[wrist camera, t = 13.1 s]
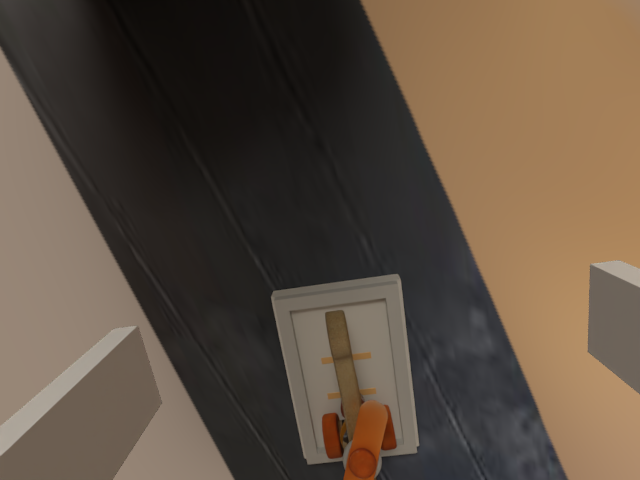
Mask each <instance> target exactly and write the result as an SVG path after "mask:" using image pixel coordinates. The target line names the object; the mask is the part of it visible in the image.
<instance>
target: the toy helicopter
mask: <svg viewBox="0 0 640 480" xmlns="http://www.w3.org/2000/svg"><path fill="white" fill-rule="evenodd" d="M325 321H326V328H327V334H328V340H329V345H330V350H331V355H332V358H333V362H334V367H335V372H336V377H337V382H338V386H339V391H340V396H341V406H340V409H341V414H342V416H343V417H344V418H345V419H344V420H339V416H338V414H337V413H328V414H324V415H323V417H322V432H323V440H324V446H325V450H326V454H327V456H328V458H329V459H334V458H341V457H343V465H344V468H345V470H346V471H345V475H344V479H343V480H376V476H377V475H378V473H379V472H380V469H381V465H382V458H381V454H380V449H382V450H384V451H386V450H392V449H395V448H396V447H397V443H396V437H395V432H394V427H393V422H392V417H391V412H390V408H389V406H388V405H385V404H384V405H383V404H382V403H380V402H379V401H376V400H368V401H366V402H365V400H364V397H363V395H362V394H361V393H360V391H359V386H358V380H357V376H356V372H355V367H354V361H353V356H352V350H351V345H350V339H349V334H348V328H347V323H346V318H345V313H344V311H343V310H336V311H329V312H326V313H325Z"/></svg>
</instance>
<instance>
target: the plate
mask: <svg viewBox="0 0 640 480" xmlns="http://www.w3.org/2000/svg"><path fill="white" fill-rule="evenodd" d="M271 300H272V305H273V310H274V315H275V320H276V324H277V329H278V334H279V339H280V344H281V348H282V353H283V358H284V363H285V368H286V373H287V377H288V382H289V387H290V392H291V397H292V401H293V406H294V411H295V416H296V421H297V425H298V430H299V435H300V440H301V445H302V450H303V454H304V458H306V459H307V464H317V463H327V462H336V461H343V457H341V458H334V459H329V458H328V456H327V454H326V450H325V446H324V440H323V432H322V417H323V415H324V414H328V413H337V414H338V416H339V420H344V419H345V418H344V417H343V416H342V414H341V409H340V406H341V396H340V391H339V386H338V382H337V377H336V372H335V367H334V362H333V358H332V355H331V350H330V345H329V340H328V334H327V328H326V321H325V313H326V312H329V311H336V310H343V311H344V313H345V318H346V323H347V328H348V334H349V339H350V345H351V350H352V356H353V361H354V367H355V372H356V376H357V380H358V386H359V391H360V393H361V394H362V395H363V397H364V400H365V402H366V401H368V400H376V401H379V402H380V403H382V404H383V405H384V404H385V405H388V406H389V408H390V412H391V417H392V422H393V427H394V432H395V437H396V443H397V447H396V448H395V449H392V450H386V451H384V450H382V449H380V454H381V457H383V456H393V455H402V454H412V453H417V447H416V446H419V439H418V430H417V421H416V412H415V403H414V394H413V385H412V376H411V367H410V358H409V349H408V340H407V331H406V322H405V313H404V304H403V295H402V286H401V279H400V277H399V275H398V274H392V275H385V276H378V277H370V278H363V279H356V280H349V281H342V282H335V283H327V284H320V285H313V286H306V287H299V288H291V289H284V290H277V291H273V294H272V296H271Z"/></svg>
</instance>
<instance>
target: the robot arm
mask: <svg viewBox="0 0 640 480" xmlns="http://www.w3.org/2000/svg"><path fill="white" fill-rule="evenodd" d="M588 328H589V329H588V352H589V353H590V354H591V355H592V356H594V357H595V358H596V359H597V360H599V361H600V362H601V363H602V364H603V365H605V366H606V367H607V368H608V369H610V370H611V371H612V372H613V373H615V374H616V375H617V376H618V377H619V378H621V379H622V380H623V381H624V382H625V383H627V384H628V385H629V386H630V387H632V388H633V389H634V390H635V391H637V392H638V393H639V394H640V269H639V268H637V267H634V266H632V265H629V264H627V263H625V262H622V261H620V260H617V261H610V262H603V263H595V264H590V290H589V326H588ZM161 404H162V401H161V398H160V395H159V391H158V388H157V386H156V382H155V379H154V375H153V372H152V369H151V366H150V363H149V360H148V356H147V353H146V350H145V347H144V343H143V340H142V337H141V334H140V331H139V328H138V326H131V327H123V328H116V329H113V330H112V331H110V332H109V333H108V334H107V335H106V336H105V337H104V338H102V339H101V340H100V341H99V342H98V343H97V344H95V345H94V346H93V347H92V348H91V349H90V350H88V351H87V352H86V353H85V354H84V355H83V356H81V357H80V358H79V359H78V360H77V361H76V362H74V363H73V364H72V365H71V366H70V367H69V368H67V369H66V370H65V371H64V372H63V373H62V374H61V375H59V376H58V377H57V378H56V379H55V380H54V381H52V382H51V383H50V384H49V385H48V386H47V387H45V388H44V389H43V390H42V391H41V392H40V393H39V394H37V395H36V396H35V397H34V398H33V399H32V400H30V401H29V402H28V403H27V404H26V405H24V407H22V408H21V409H20V410H19V411H18V412H16V413H15V414H14V415H13V416H12V417H11V418H9V419H8V420H7V421H6V422H5V423H4V424H3V425H1V426H0V480H113V478H114V477H115V475H116V474H117V472H118V470H119V469H120V467H121V466H122V464H123V463H124V461H125V459H126V458H127V456H128V455H129V453H130V452H131V450H132V449H133V447H134V446H135V444H136V443H137V441H138V439H139V438H140V436H141V435H142V433H143V432H144V430H145V428H146V427H147V426H148V424H149V422H150V421H151V419H152V418H153V416H154V415H155V413H156V412H157V410H158V408H159V407H160V405H161Z"/></svg>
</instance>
